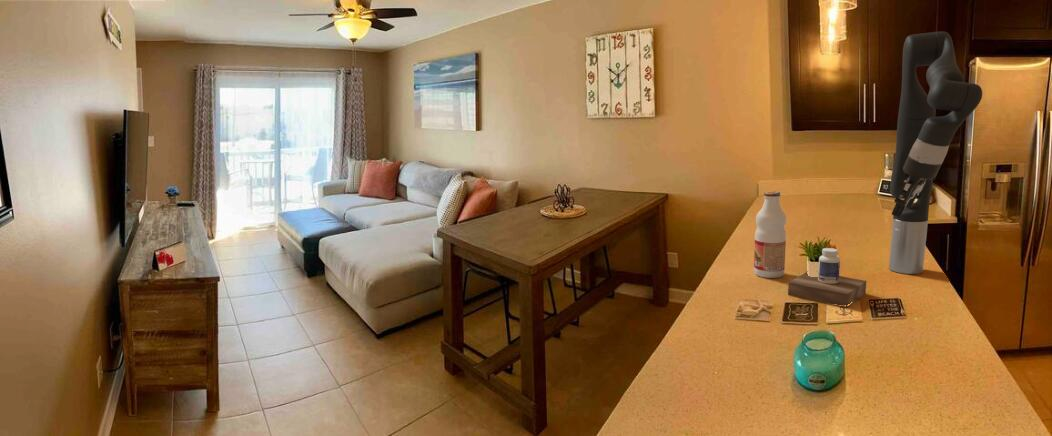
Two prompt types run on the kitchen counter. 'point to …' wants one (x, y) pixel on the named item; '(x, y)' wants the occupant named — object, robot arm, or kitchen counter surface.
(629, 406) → the kitchen counter surface
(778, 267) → the fruit juice
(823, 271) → the pill bottle
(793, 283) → the walnut base
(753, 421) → the kitchen counter surface
